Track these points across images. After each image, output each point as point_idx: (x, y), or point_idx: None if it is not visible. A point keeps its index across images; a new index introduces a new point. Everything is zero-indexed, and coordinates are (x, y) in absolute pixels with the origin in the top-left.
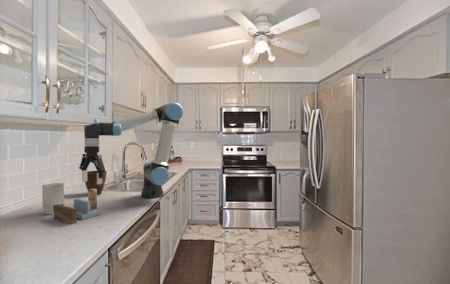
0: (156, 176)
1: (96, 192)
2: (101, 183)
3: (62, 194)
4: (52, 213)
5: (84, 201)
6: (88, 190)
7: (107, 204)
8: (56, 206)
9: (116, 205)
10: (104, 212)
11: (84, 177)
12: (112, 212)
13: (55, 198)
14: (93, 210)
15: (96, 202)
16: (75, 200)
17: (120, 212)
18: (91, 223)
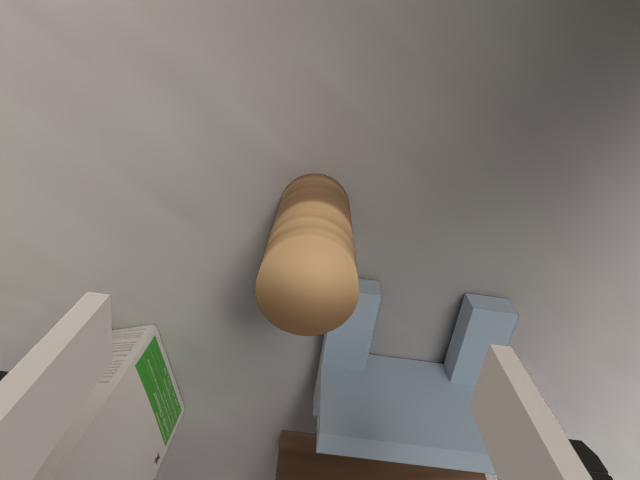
0: None
1: (352, 254)
2: (508, 357)
3: (100, 430)
4: (183, 412)
5: (472, 470)
6: (291, 329)
7: (337, 45)
8: None
9: (459, 40)
10: (500, 256)
11: (76, 387)
12: (567, 234)
13: (136, 475)
14: (463, 338)
15: (349, 213)
16: (343, 450)
17: (637, 211)
18: (571, 434)
